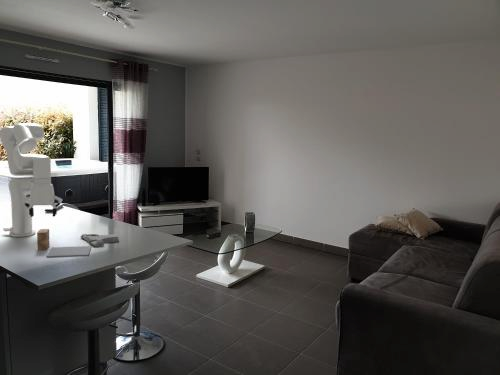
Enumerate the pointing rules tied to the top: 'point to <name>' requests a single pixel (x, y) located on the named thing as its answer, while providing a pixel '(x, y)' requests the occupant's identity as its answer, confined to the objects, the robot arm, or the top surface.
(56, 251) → the rubber mat
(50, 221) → the top surface
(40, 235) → the wooden block
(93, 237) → the pistol
